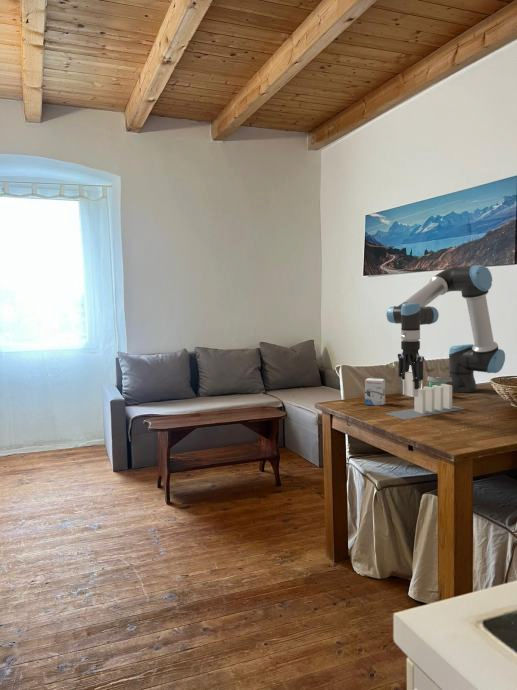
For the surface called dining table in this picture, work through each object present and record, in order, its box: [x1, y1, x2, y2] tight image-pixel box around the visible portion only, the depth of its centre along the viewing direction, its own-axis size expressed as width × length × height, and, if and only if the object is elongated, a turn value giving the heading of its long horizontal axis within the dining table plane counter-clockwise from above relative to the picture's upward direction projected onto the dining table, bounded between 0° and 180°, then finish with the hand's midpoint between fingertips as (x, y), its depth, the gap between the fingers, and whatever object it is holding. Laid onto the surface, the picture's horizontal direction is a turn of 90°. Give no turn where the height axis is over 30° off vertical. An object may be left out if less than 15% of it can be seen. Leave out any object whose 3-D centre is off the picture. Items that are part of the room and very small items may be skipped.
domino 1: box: [404, 371, 413, 398], centre depth 219 cm, size 2×5×10 cm, turn 25°
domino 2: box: [413, 387, 426, 413], centre depth 222 cm, size 2×5×10 cm, turn 25°
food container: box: [426, 374, 452, 388], centre depth 252 cm, size 12×6×10 cm, turn 42°
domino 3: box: [422, 386, 435, 412], centre depth 224 cm, size 2×5×10 cm, turn 26°
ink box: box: [364, 377, 386, 406], centre depth 242 cm, size 9×5×12 cm, turn 65°
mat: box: [384, 404, 466, 421], centre depth 224 cm, size 34×12×1 cm, turn 115°
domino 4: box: [432, 385, 443, 410], centre depth 226 cm, size 2×5×10 cm, turn 25°
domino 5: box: [441, 384, 453, 409], centre depth 228 cm, size 2×5×10 cm, turn 25°
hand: (410, 395), depth 220 cm, fingers closed on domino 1, 5 cm apart
